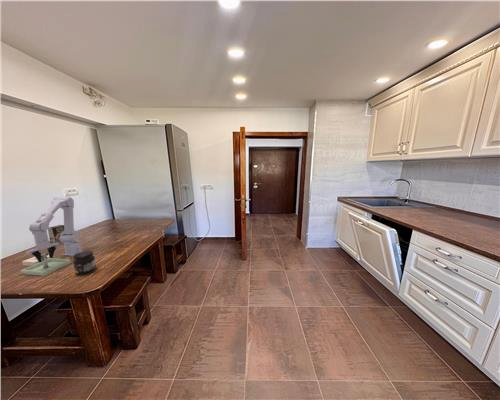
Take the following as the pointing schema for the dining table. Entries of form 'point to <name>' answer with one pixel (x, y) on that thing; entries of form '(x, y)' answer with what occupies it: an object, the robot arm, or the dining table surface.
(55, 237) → the coffee box
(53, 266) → the tray
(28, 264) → the socket block
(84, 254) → the supplement container
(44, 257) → the steel pin
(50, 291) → the dining table surface
